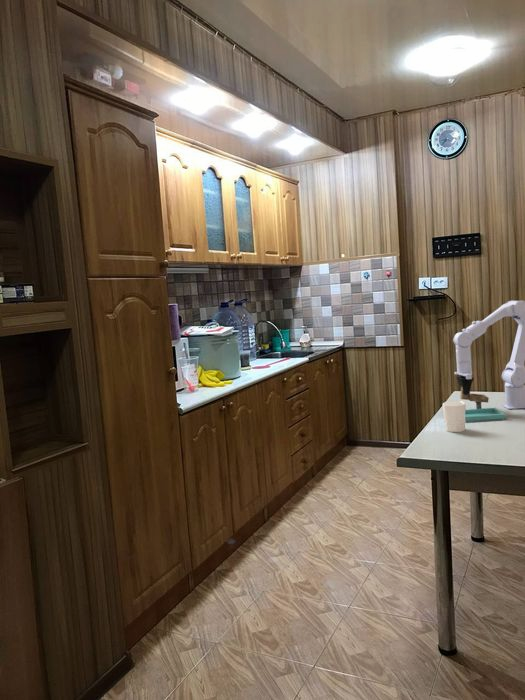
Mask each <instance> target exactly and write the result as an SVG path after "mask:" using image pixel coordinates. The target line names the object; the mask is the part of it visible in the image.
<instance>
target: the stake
mask: <svg viewBox="0 0 525 700" xmlns="http://www.w3.org/2000/svg"><path fill="white" fill-rule="evenodd" d="M475 409H483V408H482V402H475Z"/></svg>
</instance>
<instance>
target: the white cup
mask: <svg viewBox="0 0 525 700" xmlns="http://www.w3.org/2000/svg"><path fill="white" fill-rule="evenodd" d="M465 410H466V402H464V401H461V400H460V401H459V400H454V401H453V400H452V401H444V402H443V403H442V411H443V418H444V424H445V431H447V432H449V433H462V432H464V431H465V430H466V422H465Z"/></svg>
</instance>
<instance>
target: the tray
mask: <svg viewBox="0 0 525 700" xmlns="http://www.w3.org/2000/svg"><path fill="white" fill-rule="evenodd" d="M485 420H486V421H485ZM487 420H490V421H501V420H503V421H504V420H506V414H505V413H504V412H503V411H501V410H500V409H498V408H497V407H486V408H482V409H476V408H472V409H471V408H470V409H465V423H471V422H470V421H474V422H487Z"/></svg>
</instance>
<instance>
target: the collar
mask: <svg viewBox="0 0 525 700" xmlns="http://www.w3.org/2000/svg"><path fill="white" fill-rule="evenodd" d="M459 398H460V399H461V400H466V401H470V402H474V403H476V402H481V403H487V404H488V403H489V397H488V396H487V395H485V394H483V393H471V392H470V394H467V395H464V393H463V389H462V386H461V388H460V397H459Z"/></svg>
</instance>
